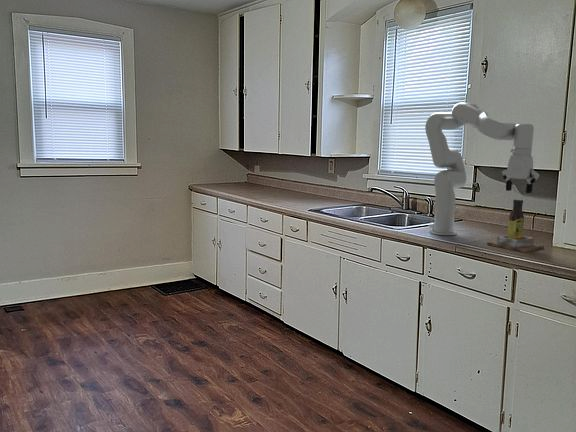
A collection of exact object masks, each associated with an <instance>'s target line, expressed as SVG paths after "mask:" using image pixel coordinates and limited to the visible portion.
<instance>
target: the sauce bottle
mask: <svg viewBox="0 0 576 432" xmlns="http://www.w3.org/2000/svg"><path fill="white" fill-rule="evenodd" d="M512 201H513V202H512V203H513V204H512V210H511V212H510V213H509V219H508V225H507V226H508V227H507V234H506V235H507V238H510V239H515V240H521V239H522V237H523V236H524V226H525V215H524V212H523V204H524V200H523V199H518V198H517V199H516V198H514V199H513V200H512Z"/></svg>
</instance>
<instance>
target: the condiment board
mask: <svg viewBox="0 0 576 432" xmlns="http://www.w3.org/2000/svg"><path fill="white" fill-rule="evenodd" d="M507 235H508V234H506V235H500V236H497V240H493V241H488V242H487V243H486V245H487V246H490V245H491V246H492V247H495V246H496V247H495V248H500V247H501V249H504V250H505V249H506V250H510V251H514V250H516V251H515V252H519V251H520V252H521V253H528V252H531V251H537V250H542V249H545V246H544V245H542V244H537V243H535V237H531V236H525V235H523V237H522V239H521V240H515V239H510V238H507Z"/></svg>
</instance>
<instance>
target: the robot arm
mask: <svg viewBox="0 0 576 432" xmlns="http://www.w3.org/2000/svg"><path fill="white" fill-rule="evenodd" d="M465 125H468V126H470V127H472V128H474V129H476V130H477V131H479V133H481V134H482V135H484V136H487V137H488V138H491V139H494V140H495V141H496V140H497V141H513V144H512V145H513V147H512V149H510V153H511V155H510V157H509V159H508V164H507V168H506V169H504V170H502V171H501V174H502V176H503V177H502V178H503V179H504V181H505V191H512V189H513V181H512V180H513V179H516V180H526V182H527V183H526V189H525V193H526V194H532V192H533V188H534V187H533V186H534V184H535V183H536V182H537V181H538V179H539V177H540V174H539V173H538V172H537V171H535V170H534V159H533V158H534V157H533V156H532V151H533V141H534V129H535V127H534V124H531V123H513V122H511V123H510V122H500V121H498V120H494V119H492V118H490V117H489V113H488V112H487V111H485V110H482V109H480V107H479V106H478V104H475V103H473V102H458V103H456V104H454V106H453V107H452V109H451V112H449V111H448V112H446V111H445V112H444V111H439V112H434V113H432V114H431V115H429V116H428V118H427V120H426V123H425V129H424V131H425V134H426V138H427V142H428V144H429V150H430V154H431V157H432V162H433V165H434V167H436V168H439V169H443V170H440V171H438V172H437V173H436V174H435V177H434V188H435V189H434V190H435V191H434V192H435V197H434V198H435V199H434V200H435V202H434V203H435V204H434V221H433V222H430V223H429V224H428V227H429V228H432V229H431V230H430V234H433V235H435V236H436V235H438V236H456V235H457V234H458V232H457V230H454V229H455V225H454V224H455V215H456V214H455V212H456V209H455V208H456V194H455V191H454V189H461V188H463V187H465V185H466V182H467V174H466V169H465V165H464V159H463V156H462V155H461V153H460V152H459V150H457V149H455V148H449V145H448V140H447V138H446V135H445V134H444V132H443V130H444V131H445V130H446V131H449V130H451V131H453V130H454V131H455V130H457V129H460V128H462V127H463V126H465Z"/></svg>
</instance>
